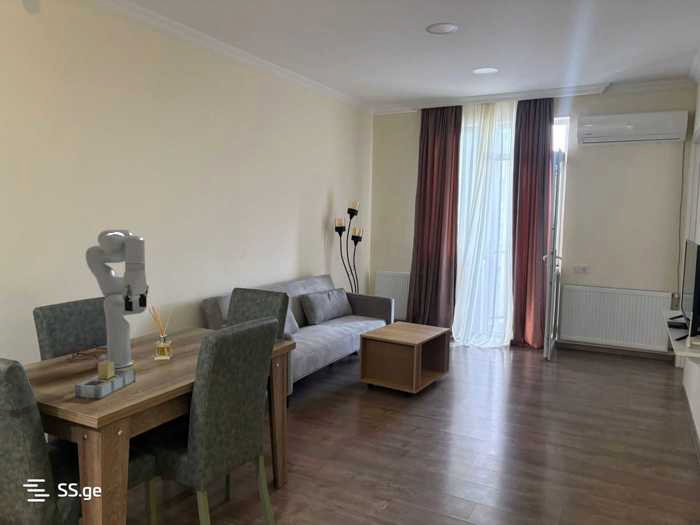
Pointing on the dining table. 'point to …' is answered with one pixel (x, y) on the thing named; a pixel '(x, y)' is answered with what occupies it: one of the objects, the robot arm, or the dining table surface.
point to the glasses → (86, 350)
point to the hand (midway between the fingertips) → (136, 308)
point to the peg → (106, 370)
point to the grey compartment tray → (104, 385)
